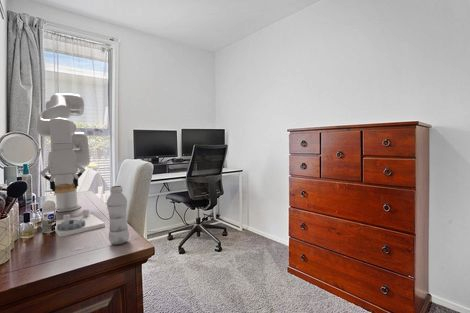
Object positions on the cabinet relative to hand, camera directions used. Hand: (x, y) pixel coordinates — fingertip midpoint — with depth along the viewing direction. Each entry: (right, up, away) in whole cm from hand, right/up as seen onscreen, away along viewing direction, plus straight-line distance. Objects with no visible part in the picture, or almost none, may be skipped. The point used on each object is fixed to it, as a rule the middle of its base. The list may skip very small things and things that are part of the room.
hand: (64, 189), depth 110 cm
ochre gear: (0, -1, 0) cm, 1 cm away
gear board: (+5, -16, 0) cm, 17 cm away
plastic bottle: (+32, -17, -20) cm, 41 cm away
